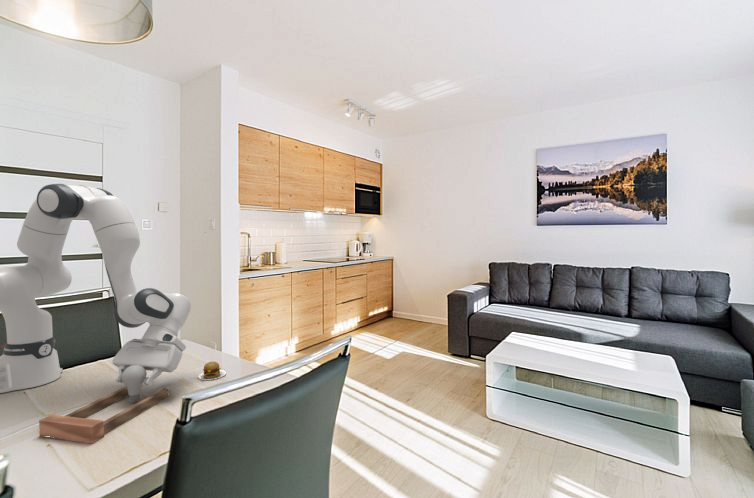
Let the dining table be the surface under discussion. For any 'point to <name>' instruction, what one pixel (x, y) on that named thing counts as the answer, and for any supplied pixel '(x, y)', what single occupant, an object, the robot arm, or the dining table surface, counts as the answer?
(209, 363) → the hamburger
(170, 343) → the robot arm
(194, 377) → the dining table surface
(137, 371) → the lightbulb
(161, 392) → the guide track
